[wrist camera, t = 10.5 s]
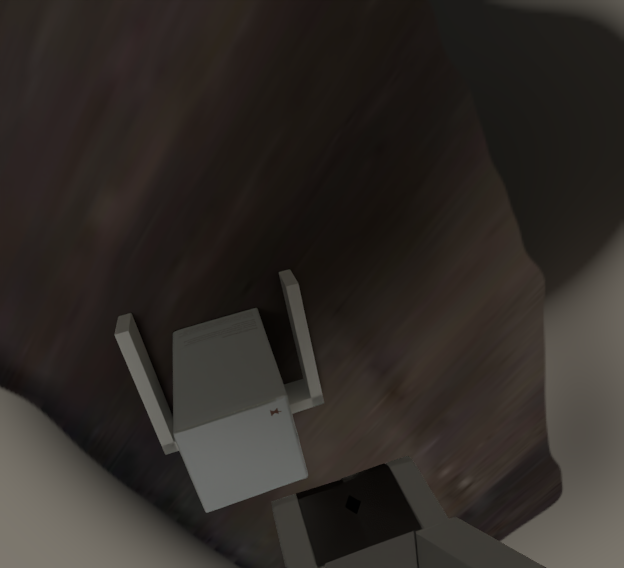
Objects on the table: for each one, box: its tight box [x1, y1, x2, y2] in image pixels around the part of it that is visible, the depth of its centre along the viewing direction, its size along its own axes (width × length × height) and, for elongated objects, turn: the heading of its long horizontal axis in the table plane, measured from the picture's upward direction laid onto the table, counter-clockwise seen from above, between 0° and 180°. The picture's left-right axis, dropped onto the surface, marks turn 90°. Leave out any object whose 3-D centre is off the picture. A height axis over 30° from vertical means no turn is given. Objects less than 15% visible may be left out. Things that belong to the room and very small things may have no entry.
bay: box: [114, 269, 324, 455], centre depth 40 cm, size 12×14×3 cm
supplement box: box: [173, 308, 308, 513], centre depth 36 cm, size 7×7×13 cm
